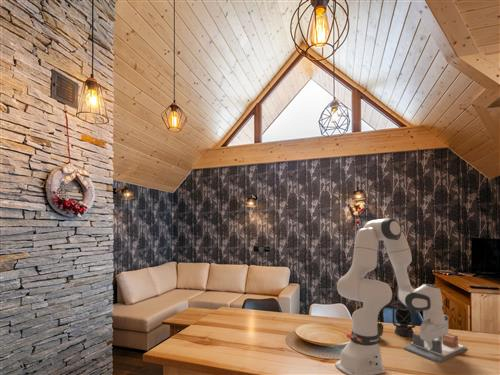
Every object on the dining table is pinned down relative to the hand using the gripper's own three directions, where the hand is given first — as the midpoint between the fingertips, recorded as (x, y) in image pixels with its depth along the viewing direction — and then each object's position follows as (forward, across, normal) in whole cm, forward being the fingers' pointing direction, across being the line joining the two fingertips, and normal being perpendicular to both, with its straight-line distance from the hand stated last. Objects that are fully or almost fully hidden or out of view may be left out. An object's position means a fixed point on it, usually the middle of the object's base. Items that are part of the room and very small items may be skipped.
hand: (435, 346), depth 144 cm
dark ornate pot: (+4, -7, +28) cm, 29 cm away
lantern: (+5, +13, +24) cm, 28 cm away
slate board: (+4, +7, +4) cm, 9 cm away
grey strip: (+3, +9, +8) cm, 13 cm away
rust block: (+2, +14, 0) cm, 14 cm away
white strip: (+3, +9, 0) cm, 10 cm away
